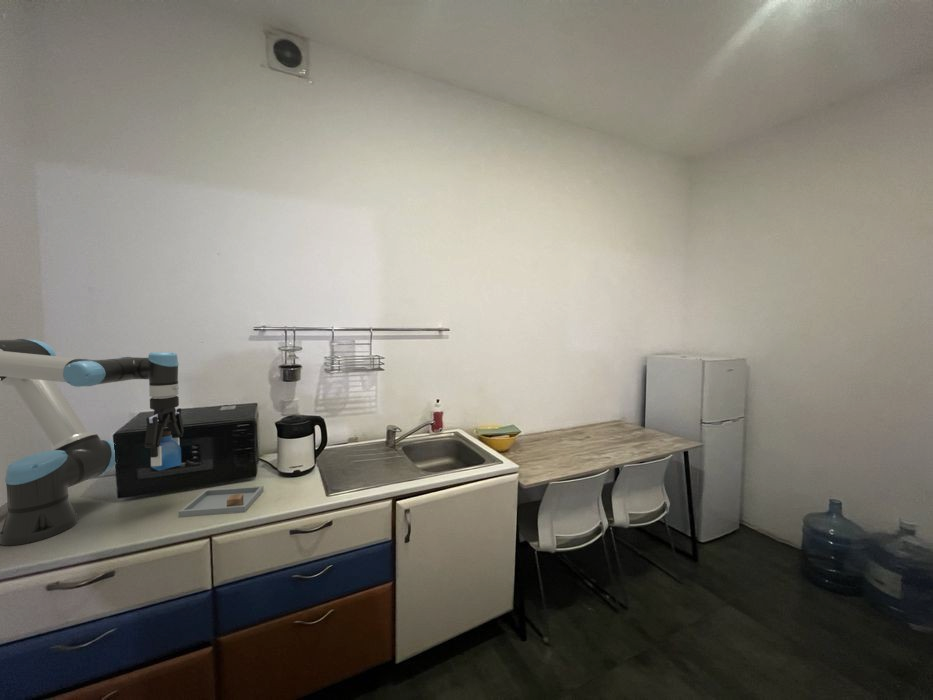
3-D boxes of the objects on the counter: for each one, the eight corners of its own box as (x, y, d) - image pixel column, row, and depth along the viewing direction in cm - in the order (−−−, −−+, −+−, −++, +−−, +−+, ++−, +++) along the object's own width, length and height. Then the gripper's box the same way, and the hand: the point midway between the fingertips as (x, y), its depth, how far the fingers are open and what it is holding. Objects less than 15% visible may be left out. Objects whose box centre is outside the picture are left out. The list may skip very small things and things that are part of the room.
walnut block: (226, 511, 117) (226, 500, 117) (230, 506, 121) (230, 495, 120) (240, 509, 118) (240, 498, 118) (243, 504, 122) (243, 493, 122)
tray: (178, 518, 113) (178, 511, 113) (205, 496, 129) (205, 489, 129) (244, 513, 117) (244, 506, 117) (263, 492, 133) (263, 485, 133)
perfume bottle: (150, 467, 118) (149, 433, 117) (172, 461, 123) (172, 428, 122) (159, 470, 115) (158, 435, 114) (181, 464, 120) (180, 431, 120)
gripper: (154, 402, 108) (156, 472, 109) (195, 391, 129) (196, 449, 130) (127, 403, 106) (129, 473, 108) (172, 391, 127) (174, 450, 129)
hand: (166, 460), depth 119 cm, fingers closed on perfume bottle, 9 cm apart
